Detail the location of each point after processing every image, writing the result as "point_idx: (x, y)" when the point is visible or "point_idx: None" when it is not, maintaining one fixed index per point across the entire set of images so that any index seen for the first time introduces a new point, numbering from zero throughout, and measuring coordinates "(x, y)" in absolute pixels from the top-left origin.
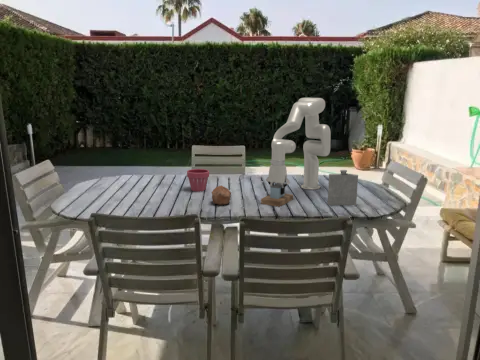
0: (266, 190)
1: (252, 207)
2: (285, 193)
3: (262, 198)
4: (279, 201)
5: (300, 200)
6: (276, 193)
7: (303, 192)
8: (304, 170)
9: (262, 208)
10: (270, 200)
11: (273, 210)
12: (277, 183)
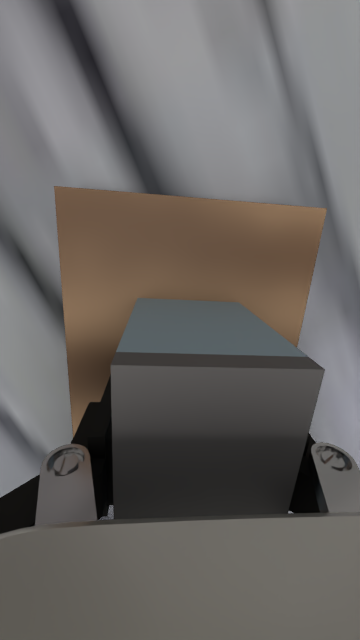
0: None
1: (342, 13)
2: None
3: (313, 227)
4: (65, 193)
5: (26, 469)
6: (158, 318)
7: None
8: None
9: (221, 30)
10: (195, 198)
11: (68, 3)
12: None
